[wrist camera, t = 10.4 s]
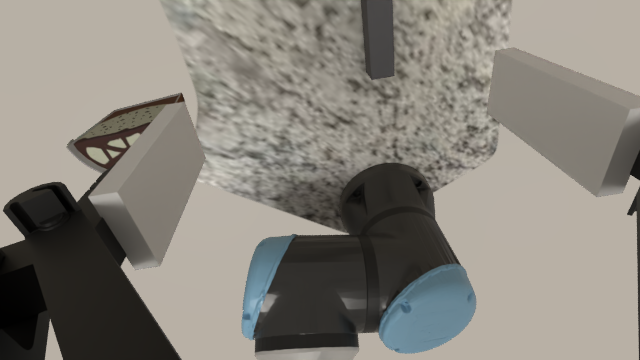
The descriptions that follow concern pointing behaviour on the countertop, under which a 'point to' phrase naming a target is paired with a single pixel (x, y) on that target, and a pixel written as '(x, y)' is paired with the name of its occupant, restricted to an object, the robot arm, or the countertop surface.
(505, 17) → the countertop surface
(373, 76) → the rail
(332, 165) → the countertop surface
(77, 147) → the food container
